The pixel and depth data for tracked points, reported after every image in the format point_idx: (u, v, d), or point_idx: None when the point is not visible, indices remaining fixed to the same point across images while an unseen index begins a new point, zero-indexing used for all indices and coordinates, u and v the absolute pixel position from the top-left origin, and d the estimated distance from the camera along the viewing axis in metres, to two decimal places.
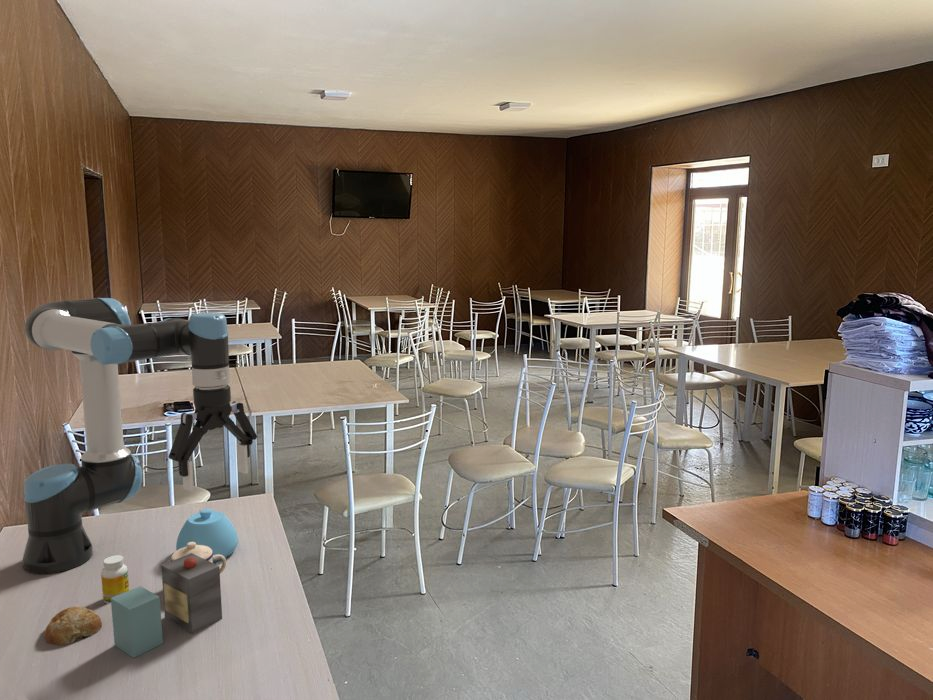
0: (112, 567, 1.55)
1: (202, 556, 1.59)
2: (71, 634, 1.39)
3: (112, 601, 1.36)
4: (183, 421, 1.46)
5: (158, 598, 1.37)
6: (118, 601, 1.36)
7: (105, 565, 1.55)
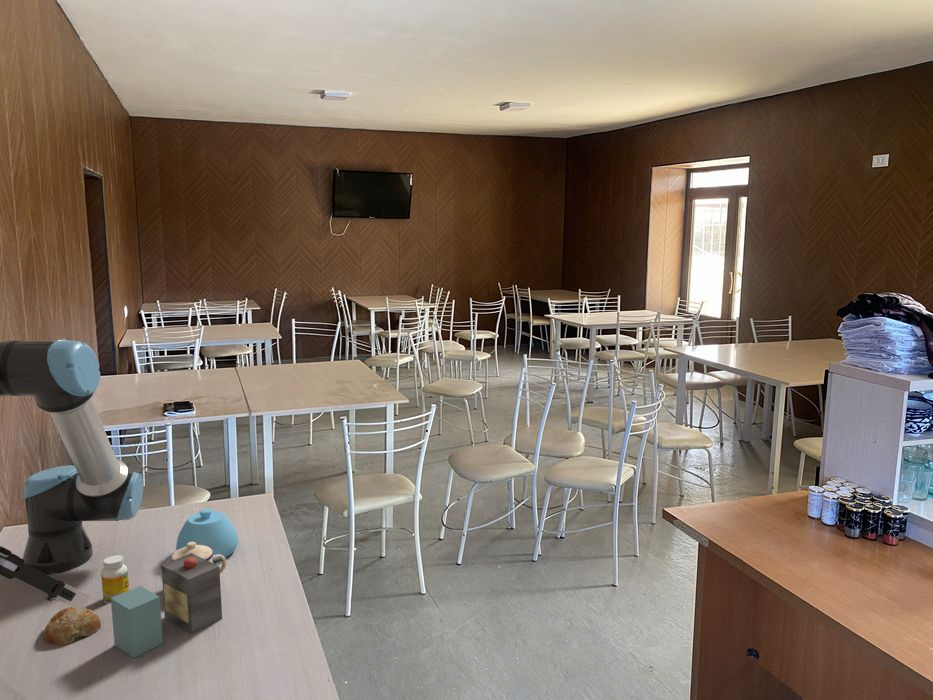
0: (112, 566, 1.55)
1: (202, 556, 1.59)
2: (70, 634, 1.39)
3: (112, 601, 1.36)
4: None
5: (158, 598, 1.37)
6: (118, 601, 1.36)
7: (105, 565, 1.55)
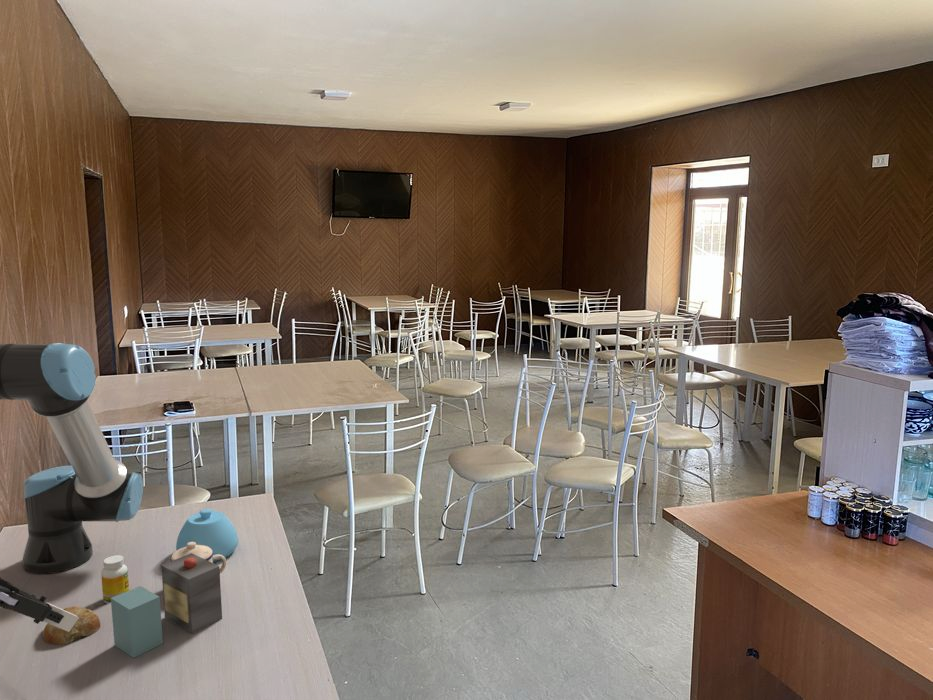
0: (112, 566, 1.55)
1: (202, 556, 1.59)
2: (70, 634, 1.39)
3: (112, 601, 1.36)
4: None
5: (158, 598, 1.37)
6: (118, 601, 1.36)
7: (105, 565, 1.55)
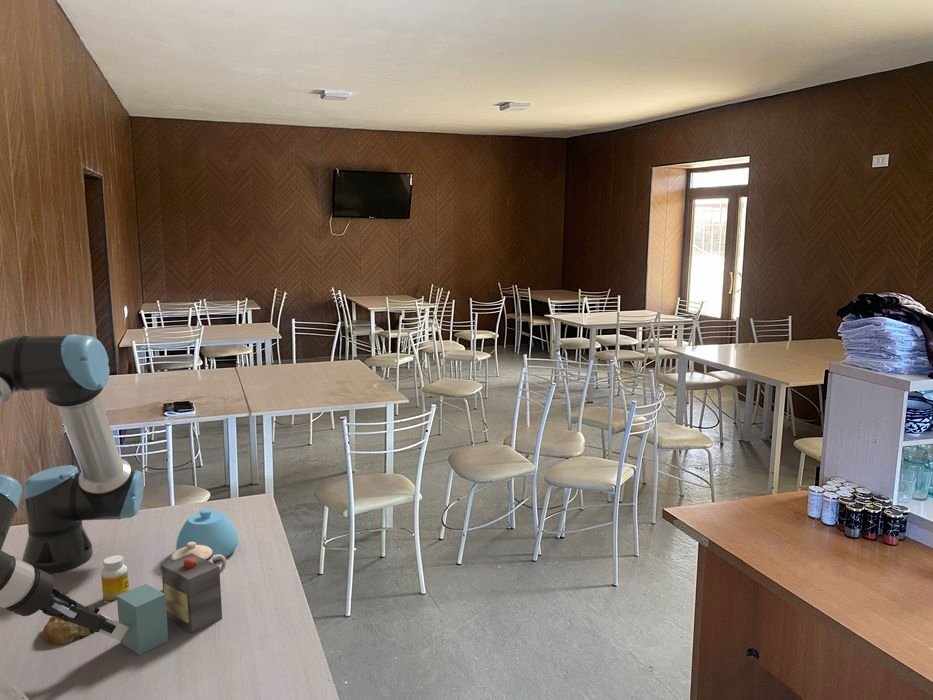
0: (112, 566, 1.55)
1: (202, 556, 1.59)
2: (69, 634, 1.39)
3: (118, 599, 1.37)
4: None
5: (164, 596, 1.38)
6: (124, 599, 1.36)
7: (105, 565, 1.55)
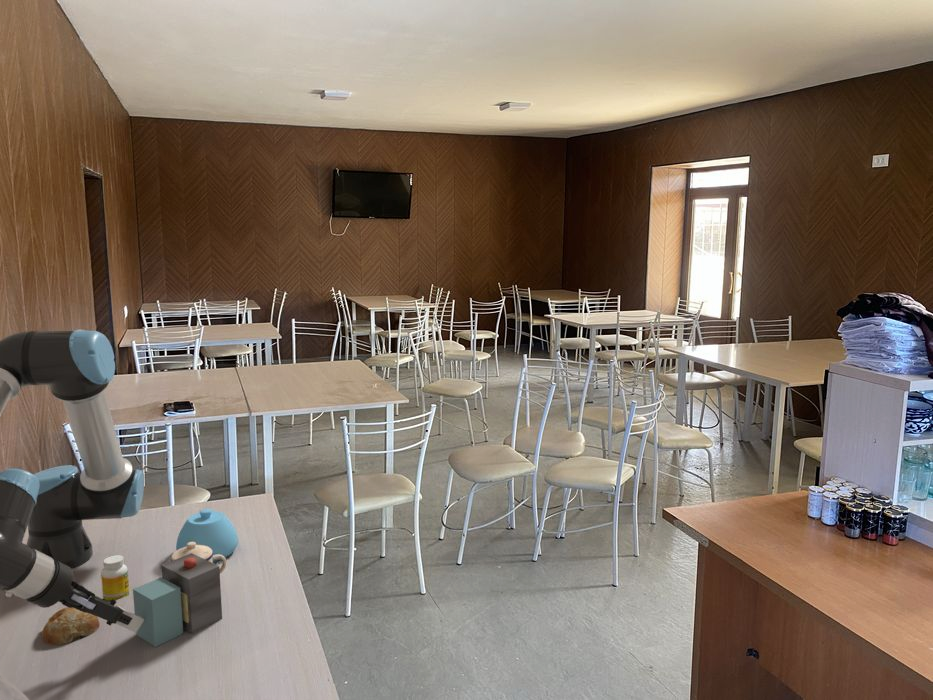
0: (112, 566, 1.55)
1: (202, 556, 1.59)
2: (69, 634, 1.39)
3: (134, 592, 1.40)
4: None
5: (179, 589, 1.41)
6: (140, 592, 1.39)
7: (105, 565, 1.55)
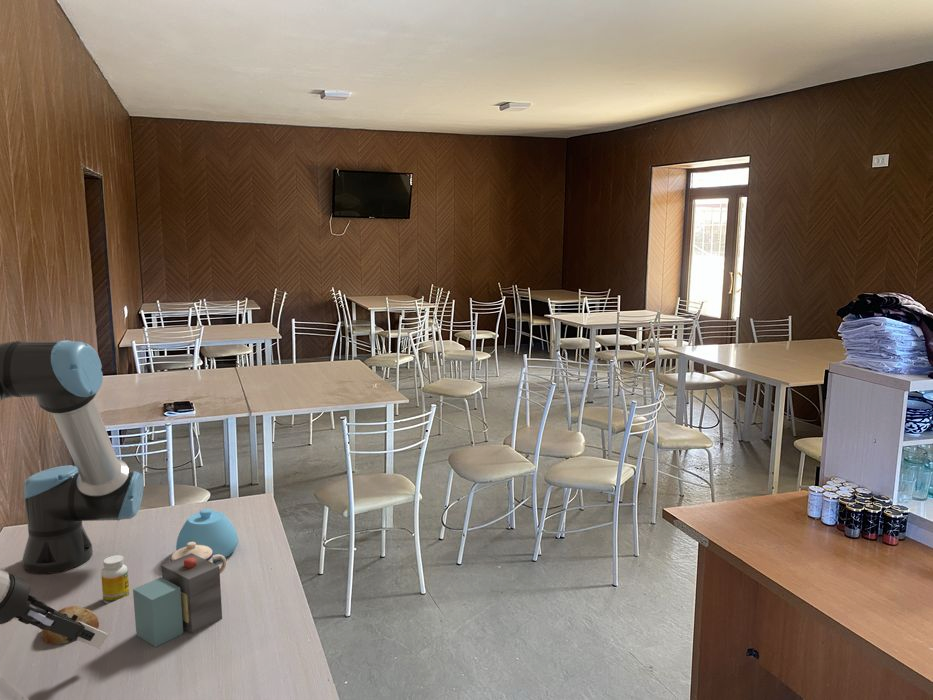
0: (112, 566, 1.55)
1: (202, 556, 1.59)
2: None
3: (134, 592, 1.40)
4: None
5: (179, 589, 1.41)
6: (140, 592, 1.39)
7: (105, 565, 1.55)
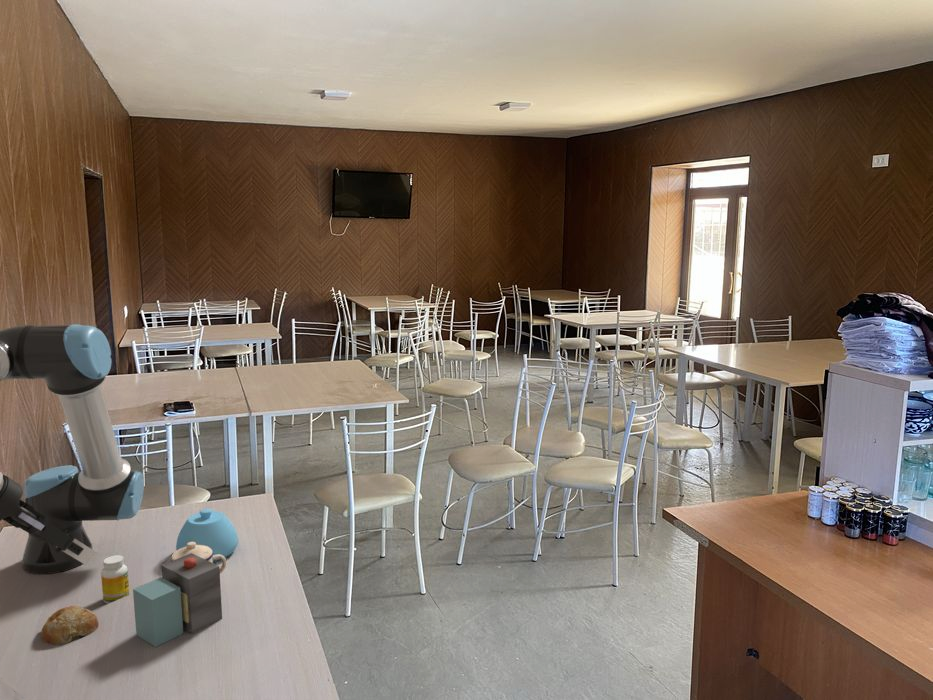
0: (112, 566, 1.55)
1: (202, 556, 1.59)
2: (68, 633, 1.39)
3: (134, 592, 1.40)
4: None
5: (179, 589, 1.41)
6: (140, 592, 1.39)
7: (105, 565, 1.55)
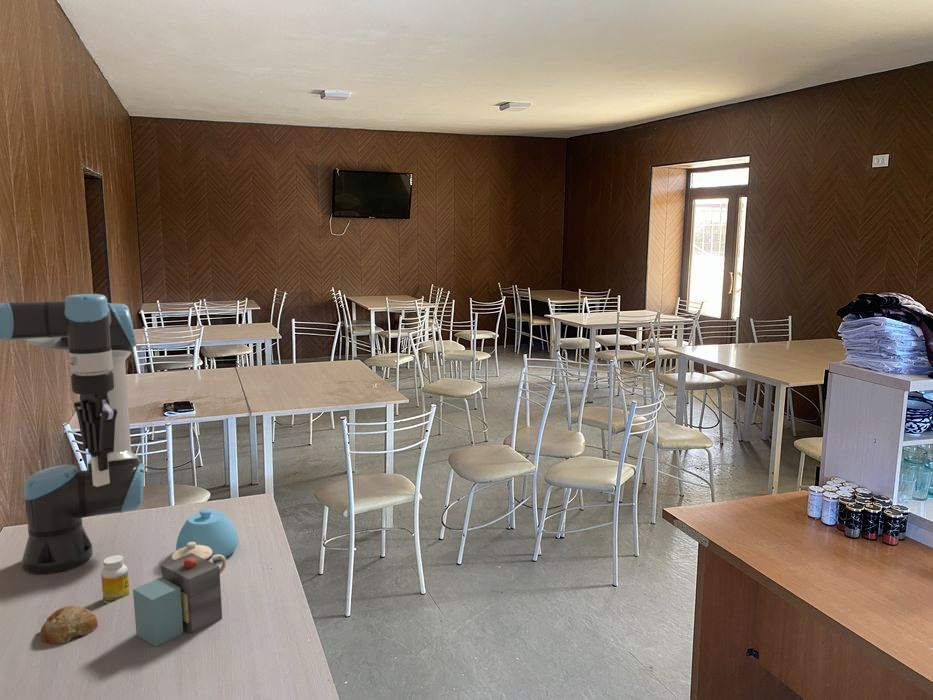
0: (112, 566, 1.55)
1: (202, 556, 1.59)
2: (67, 633, 1.39)
3: (134, 592, 1.40)
4: None
5: (179, 589, 1.41)
6: (140, 592, 1.39)
7: (105, 565, 1.55)
